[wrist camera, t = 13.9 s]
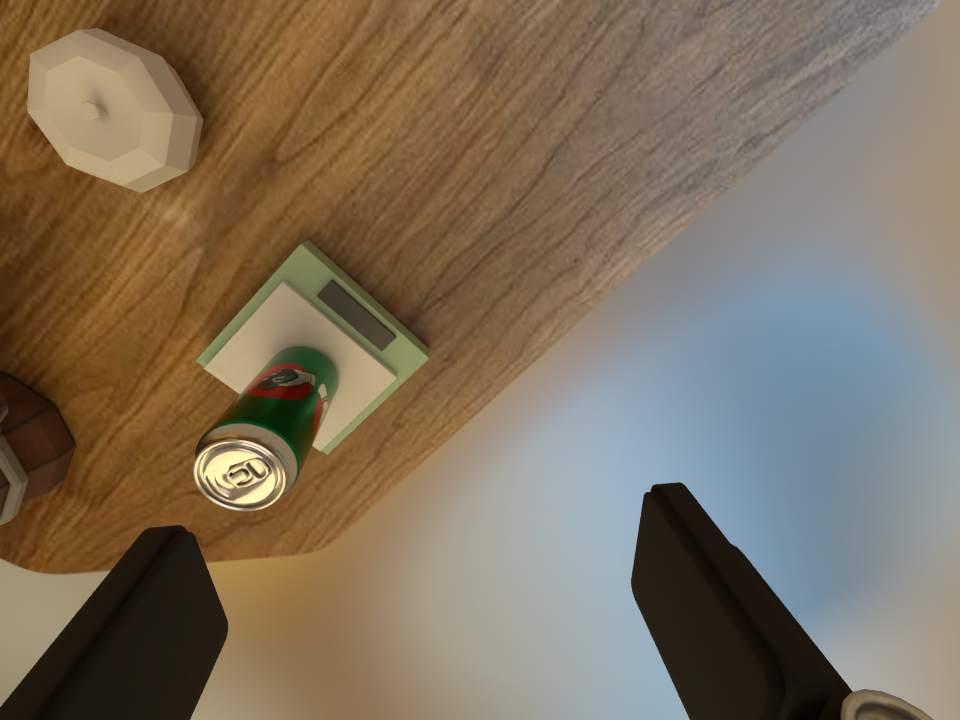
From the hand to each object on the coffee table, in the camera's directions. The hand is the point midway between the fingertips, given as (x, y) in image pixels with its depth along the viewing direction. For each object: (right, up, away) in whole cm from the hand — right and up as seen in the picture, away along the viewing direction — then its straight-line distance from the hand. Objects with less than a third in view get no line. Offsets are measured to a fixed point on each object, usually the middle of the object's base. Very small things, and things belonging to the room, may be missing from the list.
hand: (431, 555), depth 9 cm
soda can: (-12, +3, +23) cm, 26 cm away
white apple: (-19, +19, +19) cm, 33 cm away
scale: (-11, +5, +25) cm, 28 cm away
